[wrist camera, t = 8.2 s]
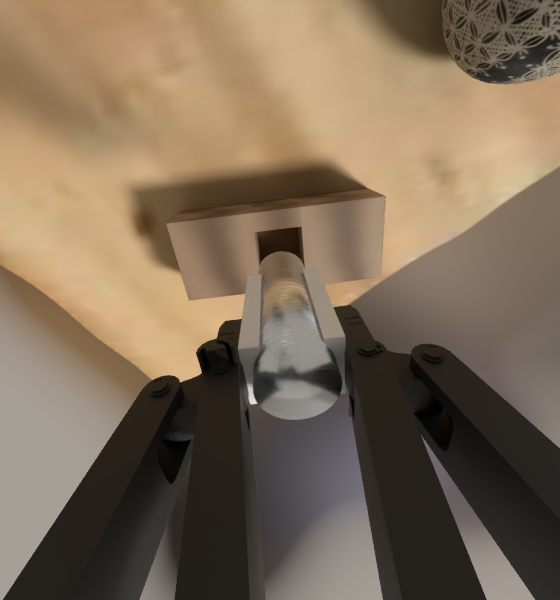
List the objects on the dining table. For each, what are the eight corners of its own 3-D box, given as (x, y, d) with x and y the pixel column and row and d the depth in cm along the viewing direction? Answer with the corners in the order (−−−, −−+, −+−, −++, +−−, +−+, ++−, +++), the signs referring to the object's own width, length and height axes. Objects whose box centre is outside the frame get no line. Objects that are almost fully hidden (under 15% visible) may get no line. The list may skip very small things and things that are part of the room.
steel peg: (261, 297, 19) (260, 424, 10) (254, 254, 18) (245, 359, 9) (306, 291, 19) (343, 414, 10) (302, 248, 18) (341, 346, 9)
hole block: (198, 280, 34) (189, 300, 30) (179, 212, 31) (165, 223, 26) (365, 259, 34) (380, 277, 30) (368, 188, 30) (385, 196, 26)
